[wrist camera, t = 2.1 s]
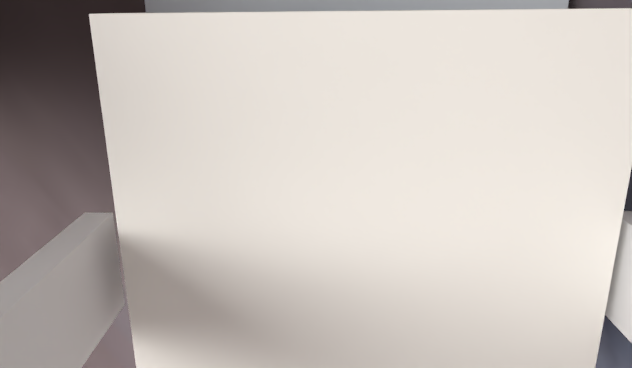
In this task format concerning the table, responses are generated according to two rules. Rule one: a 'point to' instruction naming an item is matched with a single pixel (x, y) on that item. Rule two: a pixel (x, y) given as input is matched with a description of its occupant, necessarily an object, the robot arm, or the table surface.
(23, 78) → the table surface
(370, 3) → the stand
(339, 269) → the white flat square block
